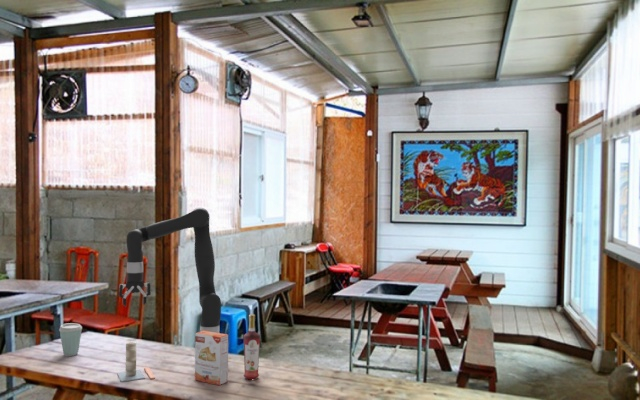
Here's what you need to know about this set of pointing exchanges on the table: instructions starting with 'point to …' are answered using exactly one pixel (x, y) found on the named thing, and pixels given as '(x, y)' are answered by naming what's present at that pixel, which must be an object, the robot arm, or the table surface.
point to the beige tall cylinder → (130, 359)
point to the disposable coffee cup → (70, 338)
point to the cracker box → (211, 357)
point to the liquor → (251, 350)
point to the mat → (124, 378)
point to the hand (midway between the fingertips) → (134, 305)
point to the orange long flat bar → (149, 373)
